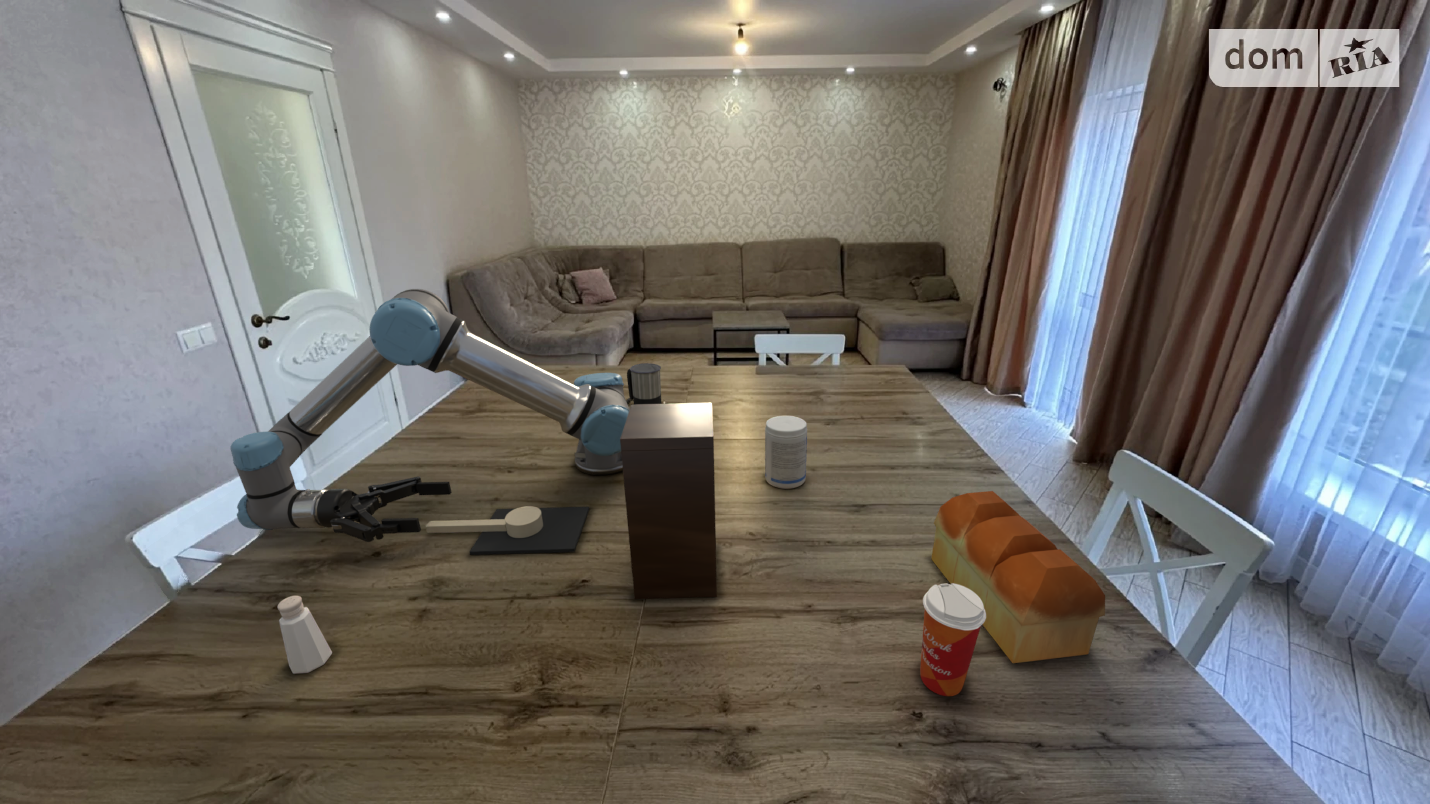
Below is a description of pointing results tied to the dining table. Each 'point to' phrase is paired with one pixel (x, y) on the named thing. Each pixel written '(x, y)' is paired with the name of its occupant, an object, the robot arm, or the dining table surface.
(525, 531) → the scoop
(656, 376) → the milk frother
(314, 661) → the pepper shaker
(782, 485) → the supplement tub
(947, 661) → the paper cup
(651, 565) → the tall dark wooden box
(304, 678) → the dining table surface
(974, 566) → the bread
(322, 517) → the robot arm
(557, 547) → the mat
